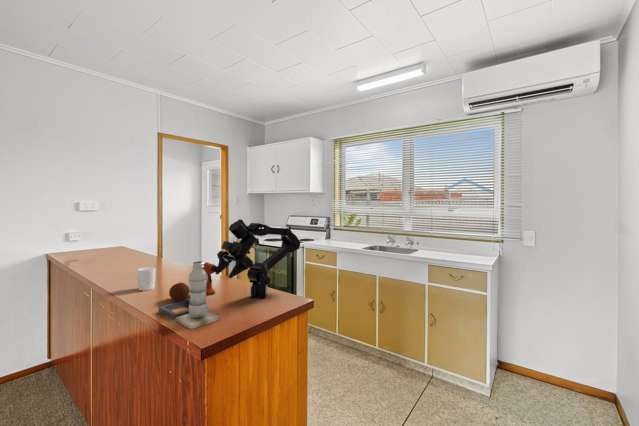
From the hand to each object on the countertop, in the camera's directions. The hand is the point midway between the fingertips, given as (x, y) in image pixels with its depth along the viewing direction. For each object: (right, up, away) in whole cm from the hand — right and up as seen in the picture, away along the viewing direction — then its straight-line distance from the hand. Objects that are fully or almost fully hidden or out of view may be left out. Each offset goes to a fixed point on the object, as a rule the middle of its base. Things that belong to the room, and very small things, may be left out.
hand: (222, 275), depth 122 cm
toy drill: (-10, -13, +17) cm, 23 cm away
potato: (-22, -13, +9) cm, 26 cm away
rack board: (-5, -13, -13) cm, 19 cm away
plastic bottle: (-5, -12, -13) cm, 19 cm away
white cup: (-46, -12, +25) cm, 53 cm away
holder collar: (-14, -13, -5) cm, 20 cm away
